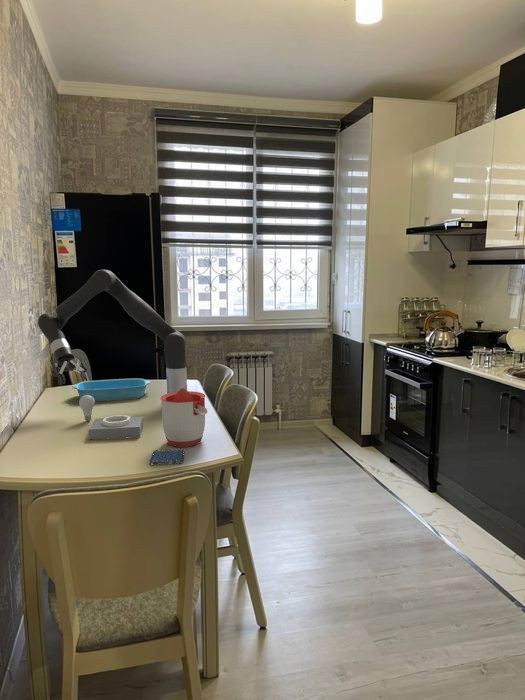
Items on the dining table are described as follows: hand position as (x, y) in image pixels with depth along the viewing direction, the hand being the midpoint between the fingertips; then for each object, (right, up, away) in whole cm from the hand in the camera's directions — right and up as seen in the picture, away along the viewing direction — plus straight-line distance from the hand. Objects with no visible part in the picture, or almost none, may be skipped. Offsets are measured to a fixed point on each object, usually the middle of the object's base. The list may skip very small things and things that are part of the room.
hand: (74, 381), depth 208 cm
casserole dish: (+5, -10, +36) cm, 38 cm away
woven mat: (+49, -23, -48) cm, 72 cm away
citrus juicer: (+52, -20, -33) cm, 65 cm away
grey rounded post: (+8, -16, -5) cm, 19 cm away
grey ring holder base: (+24, -18, -21) cm, 37 cm away
